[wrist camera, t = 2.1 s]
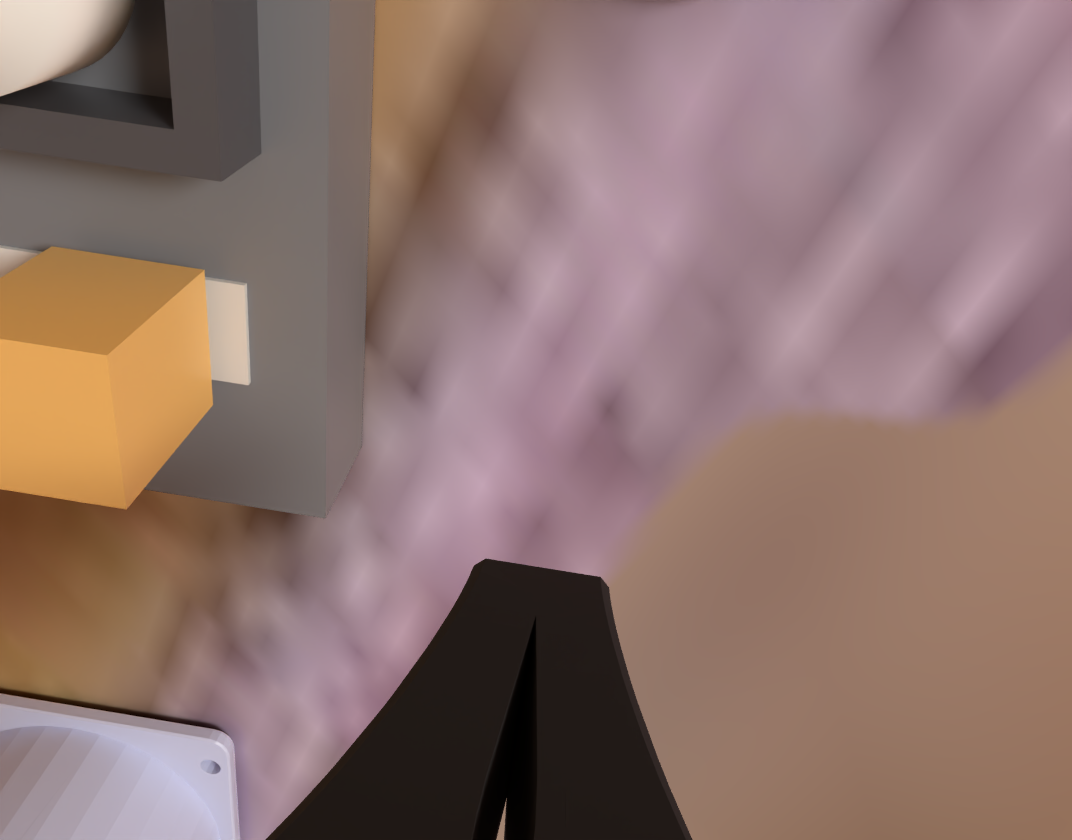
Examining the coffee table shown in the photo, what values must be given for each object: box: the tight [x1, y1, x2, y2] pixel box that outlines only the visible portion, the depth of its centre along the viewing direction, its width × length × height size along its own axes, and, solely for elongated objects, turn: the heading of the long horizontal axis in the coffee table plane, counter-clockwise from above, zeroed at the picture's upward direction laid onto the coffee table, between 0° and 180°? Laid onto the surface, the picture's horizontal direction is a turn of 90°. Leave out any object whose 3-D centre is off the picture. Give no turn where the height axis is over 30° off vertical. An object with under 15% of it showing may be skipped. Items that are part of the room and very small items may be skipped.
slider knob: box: [0, 246, 213, 509], centre depth 14 cm, size 2×2×3 cm
